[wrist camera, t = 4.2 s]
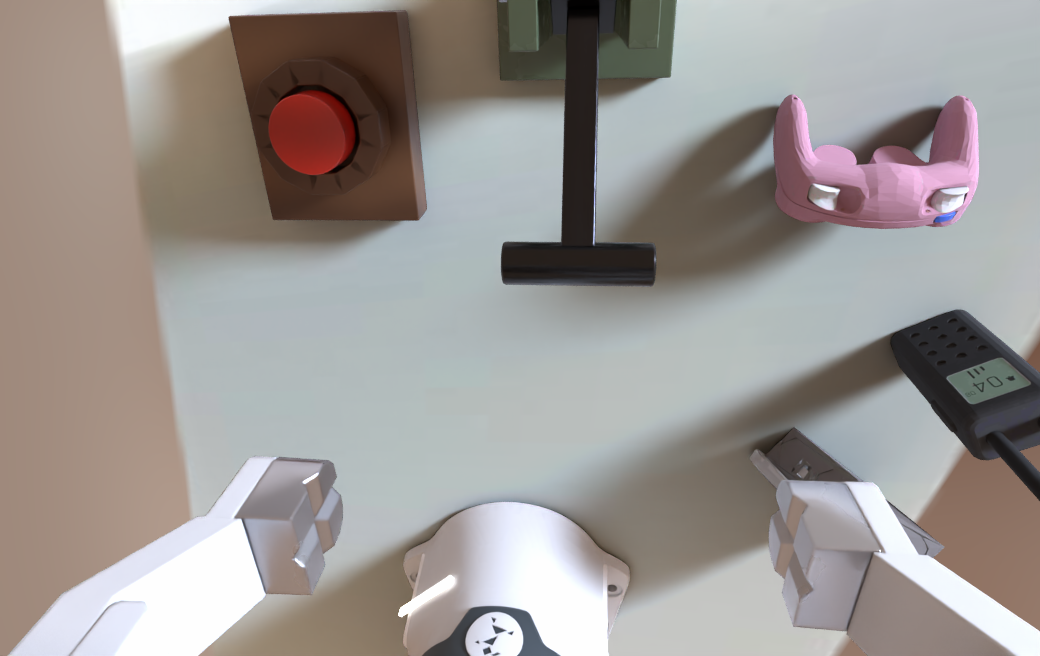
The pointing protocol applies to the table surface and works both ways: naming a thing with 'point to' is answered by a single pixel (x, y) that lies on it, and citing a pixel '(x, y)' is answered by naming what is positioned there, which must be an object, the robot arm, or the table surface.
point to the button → (311, 132)
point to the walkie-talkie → (975, 388)
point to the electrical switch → (825, 478)
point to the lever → (580, 174)
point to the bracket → (622, 54)
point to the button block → (359, 87)
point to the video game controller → (877, 174)
